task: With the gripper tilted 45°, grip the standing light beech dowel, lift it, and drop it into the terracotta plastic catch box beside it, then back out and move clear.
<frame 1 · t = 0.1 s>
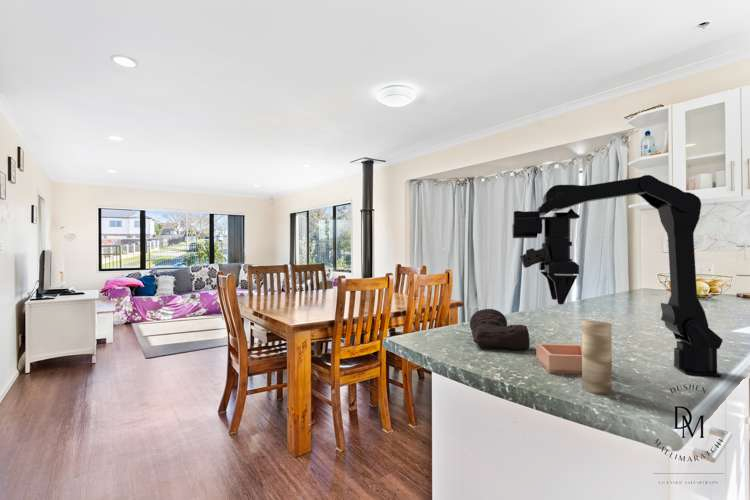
hand: (557, 301, 94), 15 cm above the countertop, tool pointing down, fingers open, 9 cm apart
beech dowel: (596, 389, 75), on the countertop
dark brown elbow: (497, 346, 111), on the countertop
handle: (582, 351, 105), on the countertop
catch box: (566, 366, 90), on the countertop
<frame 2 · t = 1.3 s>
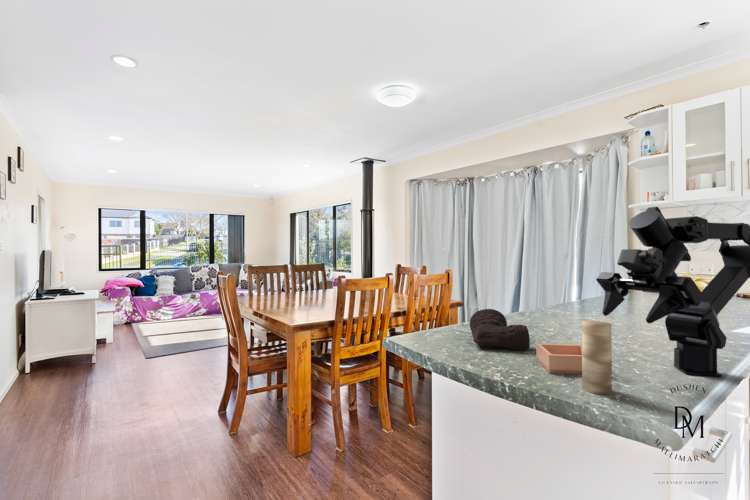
hand: (624, 318, 78), 13 cm above the countertop, tool tilted 45°, fingers open, 9 cm apart
nothing on the countertop moved.
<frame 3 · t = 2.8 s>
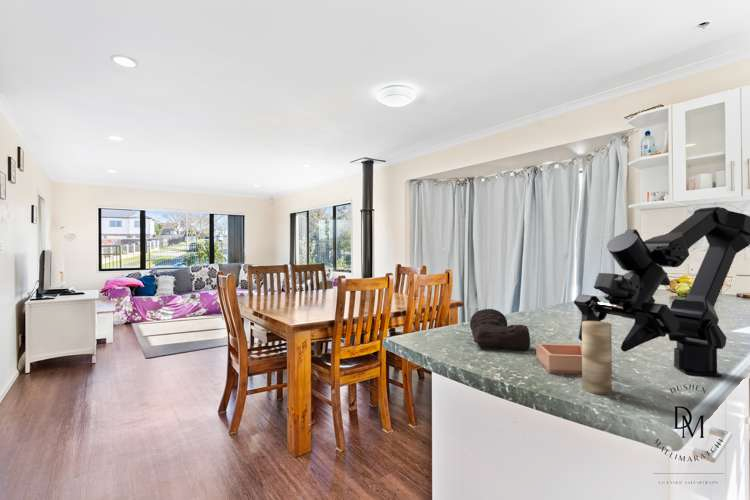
hand: (600, 344, 75), 9 cm above the countertop, tool tilted 45°, fingers open, 9 cm apart
nothing on the countertop moved.
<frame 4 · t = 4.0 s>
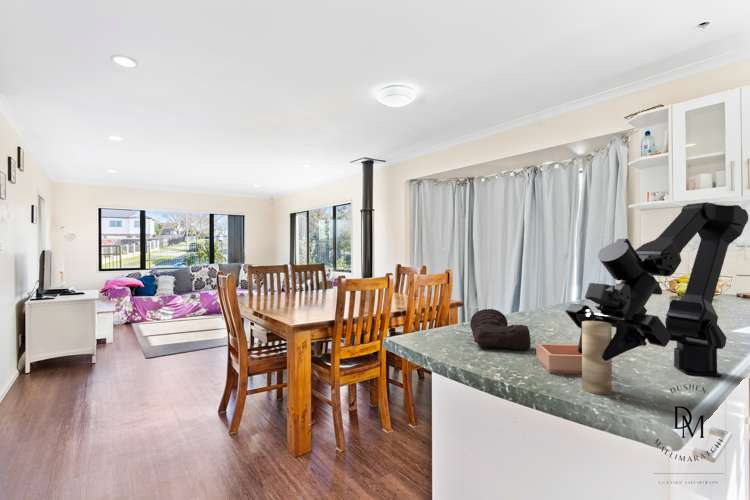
hand: (591, 355, 75), 7 cm above the countertop, tool tilted 45°, fingers closed on beech dowel, 5 cm apart
beech dowel: (596, 389, 75), on the countertop, touching gripper
everything else where it was.
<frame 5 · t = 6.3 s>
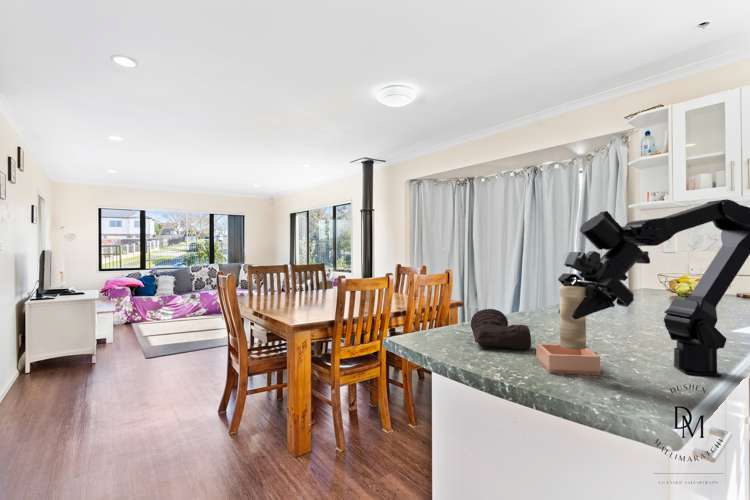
hand: (566, 315, 84), 13 cm above the countertop, tool tilted 45°, fingers closed on beech dowel, 5 cm apart
beech dowel: (573, 346, 84), point 6 cm above the countertop, touching gripper
everything else where it was.
when the fingers open (9 cm above the countertop, at t = 8.3 s): beech dowel drops 1 cm, resting on catch box.
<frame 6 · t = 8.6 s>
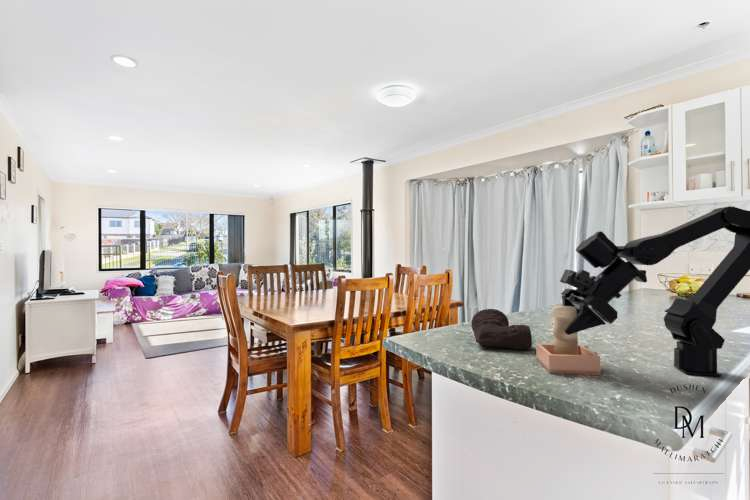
hand: (559, 329, 90), 9 cm above the countertop, tool tilted 45°, fingers open, 8 cm apart
beech dowel: (566, 363, 90), point 1 cm above the countertop, touching catch box
everything else where it was.
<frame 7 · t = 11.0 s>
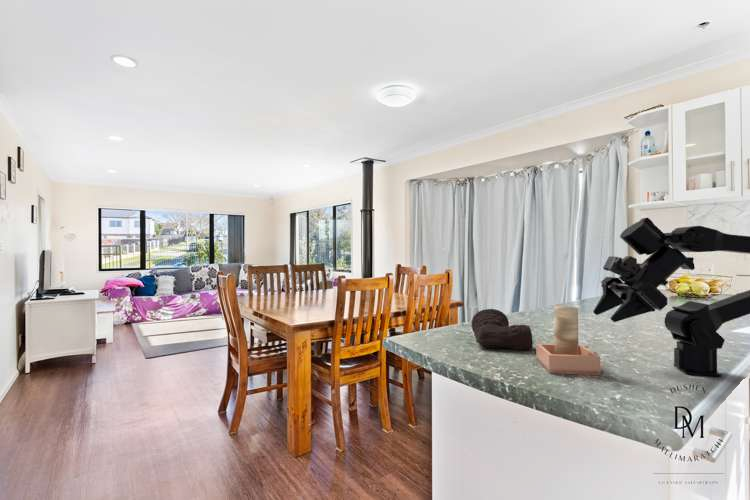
hand: (603, 316, 89), 12 cm above the countertop, tool tilted 45°, fingers open, 9 cm apart
nothing on the countertop moved.
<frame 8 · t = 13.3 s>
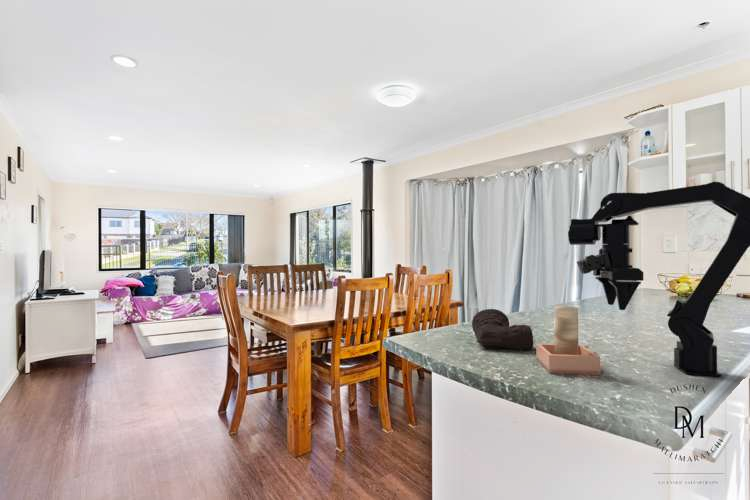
hand: (616, 307, 96), 13 cm above the countertop, tool pointing down, fingers open, 9 cm apart
nothing on the countertop moved.
at the end: beech dowel 0.0 cm off-centre on the catch box, point 0.8 cm above the catch box's base; the gripper is holding nothing; beech dowel tilted 0° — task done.
